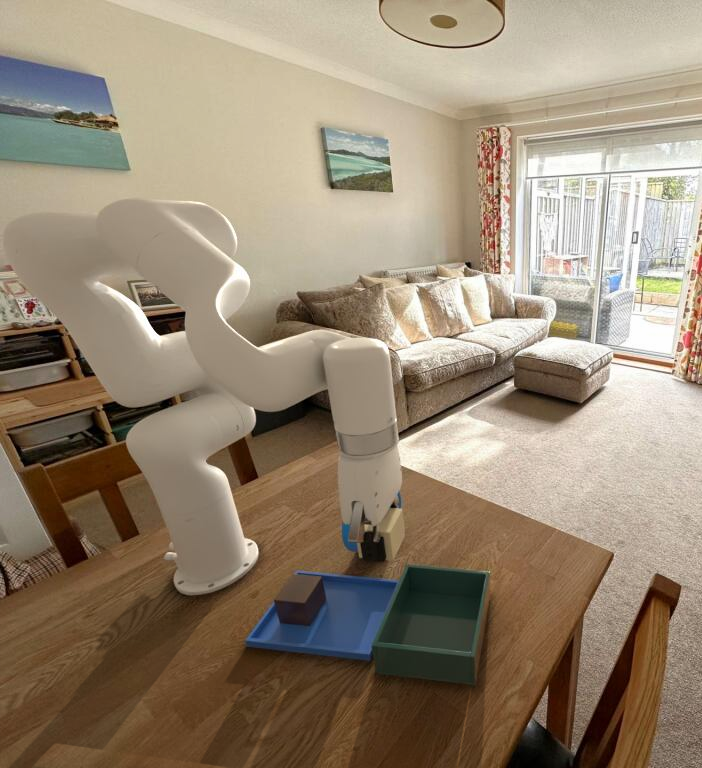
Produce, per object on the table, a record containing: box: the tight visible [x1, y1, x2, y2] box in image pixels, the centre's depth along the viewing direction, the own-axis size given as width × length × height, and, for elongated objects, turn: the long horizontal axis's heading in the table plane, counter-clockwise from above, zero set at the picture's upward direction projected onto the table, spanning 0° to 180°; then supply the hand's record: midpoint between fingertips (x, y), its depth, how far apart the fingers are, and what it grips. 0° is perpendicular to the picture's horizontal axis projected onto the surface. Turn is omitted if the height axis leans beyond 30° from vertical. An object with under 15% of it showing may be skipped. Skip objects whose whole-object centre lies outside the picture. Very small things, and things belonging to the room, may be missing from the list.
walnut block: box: [273, 573, 326, 626], centre depth 64 cm, size 5×5×5 cm
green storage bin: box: [372, 563, 491, 688], centre depth 62 cm, size 14×14×6 cm
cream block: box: [357, 508, 406, 562], centre depth 58 cm, size 5×5×5 cm
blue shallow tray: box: [244, 570, 399, 662], centre depth 65 cm, size 19×13×2 cm
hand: (382, 543), depth 59 cm, fingers closed on cream block, 5 cm apart
